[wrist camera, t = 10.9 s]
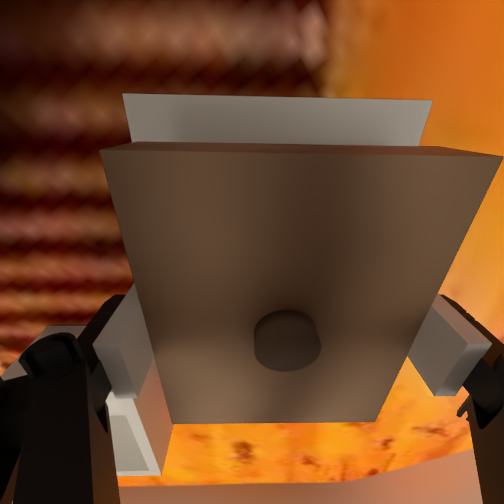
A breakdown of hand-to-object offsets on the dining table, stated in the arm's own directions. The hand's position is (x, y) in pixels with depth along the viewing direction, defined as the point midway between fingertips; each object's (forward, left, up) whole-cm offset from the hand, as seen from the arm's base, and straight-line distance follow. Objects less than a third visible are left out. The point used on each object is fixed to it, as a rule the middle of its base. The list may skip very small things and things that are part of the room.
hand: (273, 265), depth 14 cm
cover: (0, 0, +2) cm, 2 cm away
